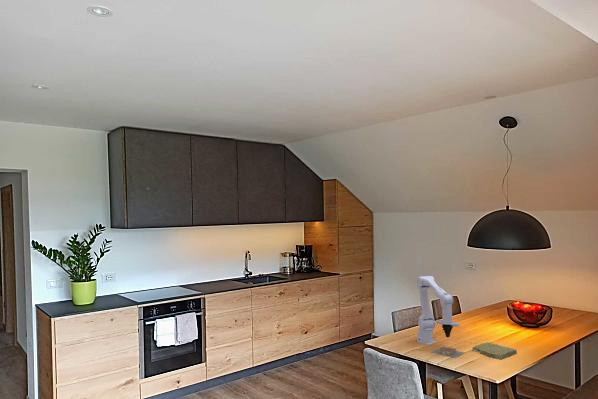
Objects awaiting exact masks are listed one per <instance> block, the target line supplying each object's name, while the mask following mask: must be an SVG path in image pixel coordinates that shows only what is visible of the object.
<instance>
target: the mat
mask: <svg viewBox="0 0 598 399" xmlns="http://www.w3.org/2000/svg"><path fill="white" fill-rule="evenodd" d="M441 347H442V346H441ZM441 347H439V348H441ZM439 348H436V349H435V350H433V351H431V352H430V353H432V354H435V355H440V356H445V357H449V358H454V359H456V358H457V357H460V356H462V355H463V354H465V352H463V351H459V350H456V353H455V354H453V355H451V356H449V355H445V354H441V353H438V349H439Z"/></svg>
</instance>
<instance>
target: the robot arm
mask: <svg viewBox="0 0 598 399" xmlns="http://www.w3.org/2000/svg"><path fill="white" fill-rule="evenodd" d="M416 285H417V289H418V291H419V292H418V293H419V300H420V307H421V315H420V316H419V317H418V322H417V323H418V327H419V328H418V330H417V341H416V342H417V343H420V344H425V345H433V344H434V343H436V340H435V341H434V333H433V332H434V330H435V328H436V325H437V324H439V325H441V328H442V329H443V331H444V334H445V338H450V336H451V332H452V330H453V328H454V327H456V328H459V327H460V323H458V322H455V321H453V304H454V297H453V295H452V294H451V293H450V294H449V293H448V292H446V290H444V289H443V287H439V286H438V284H437V283H436V280H435V278H434V275H426V276H425V275H424V276H423V275H422V276H421V275H420V276H418V277H417V278H416ZM430 288H431V289H432V290H433V291H434V294H435V296H436V297H437V298H438V299H439V303H440V306H441V317H442V319H436V320H435V316H434V315H432V314H431V312H430V311H431V310H430V309H431V308H430V302H429V296H428V290H429V289H430Z"/></svg>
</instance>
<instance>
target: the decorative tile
mask: <svg viewBox="0 0 598 399" xmlns="http://www.w3.org/2000/svg"><path fill="white" fill-rule="evenodd" d="M471 352H475V353H479V355H483V356H485V357H489V358H492V359H496V360H500V361H502V360H505V359H507V358H510V357H511V356H515V355H517V353H518V349H516V348H511V347H507V346H503V345H500V344H495V343H491V342H488V341H487V342H481V343H480V344H476V345H474V346H473V347H472V349H471Z"/></svg>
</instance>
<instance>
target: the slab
mask: <svg viewBox="0 0 598 399" xmlns="http://www.w3.org/2000/svg"><path fill="white" fill-rule="evenodd" d="M437 349H438V348H437ZM456 351H457V349H456V348H453V347H449V346H444V345H443V346H441V348H440V347H439V349H438V353H441V354H445V355H449V356H451V355H453V354H455V353H456Z"/></svg>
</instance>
